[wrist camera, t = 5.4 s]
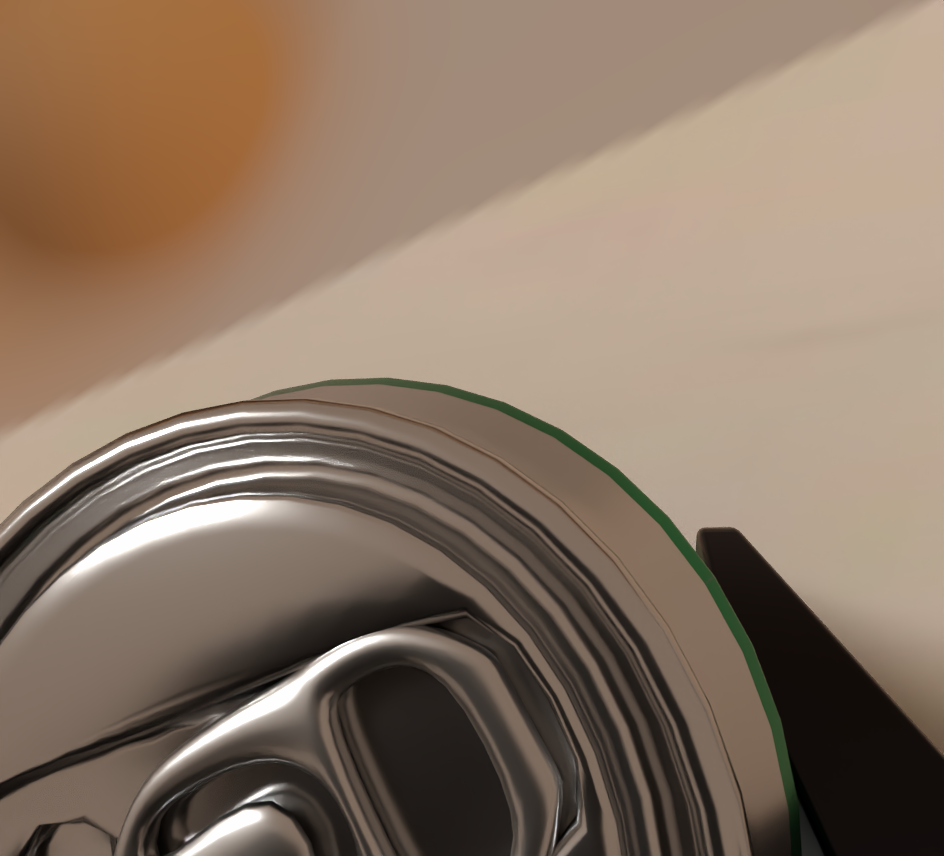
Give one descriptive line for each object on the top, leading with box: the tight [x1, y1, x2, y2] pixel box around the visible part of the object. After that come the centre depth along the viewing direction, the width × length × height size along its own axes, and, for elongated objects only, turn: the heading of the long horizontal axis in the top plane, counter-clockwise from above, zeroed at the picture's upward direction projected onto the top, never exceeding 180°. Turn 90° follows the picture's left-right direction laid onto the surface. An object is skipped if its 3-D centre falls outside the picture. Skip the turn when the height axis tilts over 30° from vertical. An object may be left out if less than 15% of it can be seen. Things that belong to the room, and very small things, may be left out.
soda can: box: [0, 378, 802, 856], centre depth 9 cm, size 5×5×12 cm
